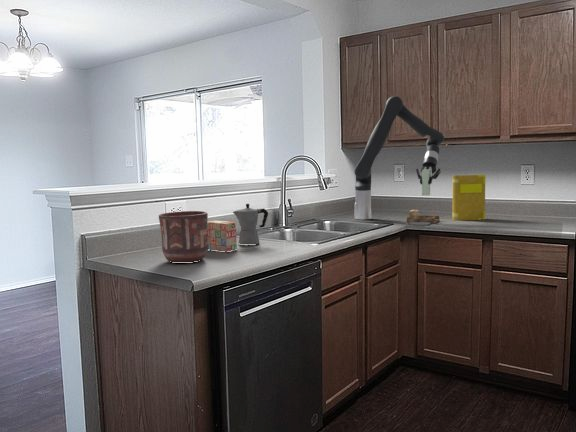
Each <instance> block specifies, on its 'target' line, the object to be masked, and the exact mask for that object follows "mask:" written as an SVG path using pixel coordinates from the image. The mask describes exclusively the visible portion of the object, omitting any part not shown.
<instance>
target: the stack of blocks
mask: <svg viewBox="0 0 576 432" xmlns="http://www.w3.org/2000/svg"><path fill="white" fill-rule="evenodd" d="M207 239H208V249H210V250H218V251H225V252H227V251H231V250H235V249H237V250H238V248H237V247H238V244H237V222H236V221H230V220H216V219H215V220H209V221H208V220H207Z"/></svg>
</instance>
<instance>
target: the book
mask: <svg viewBox="0 0 576 432" xmlns="http://www.w3.org/2000/svg"><path fill="white" fill-rule="evenodd" d="M486 176H487V175H486V174H462V175H461V174H459V175H457V174H455V175H452V212H451V213H452V214H451V215H452V217H451V219H452V221H482V220H481V219H485V220H486Z"/></svg>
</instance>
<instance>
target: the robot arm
mask: <svg viewBox="0 0 576 432" xmlns="http://www.w3.org/2000/svg"><path fill="white" fill-rule="evenodd" d="M396 117H399V118H400V119H401V120H402V121H404V122H405V123H406V124H407V125H408V126H409V127H410V128H411V129H413V131H415V132H416V133H417V135H419V136H420V137H426V136H429V137H428V138H427V140H426V142H425V145H426V151H425V154H424V157H423V161H422V164H421V165H422V167H421V168H416V169H415V170H416V175H417V179H418V180H419V184H420V185H421V186H422V174H420V173H422V170H424V169H430V177H429V181H428V184H429V185H430V186H431V184H433V183H432V182H433V180H436V179H437V178H439V175H440V174H441V173H442V171H441V168H437V166H438V162H439V154H440V145H441V144H442V143H443V142H444V141H445V136H443V135H444V134H443V133H442V132H441V131H440V132H439V130H437V129H435V128H433V127H431V126H429V125H428V124H427V123H426V122H425V121H424V120H422V119H421V118H420V117H418V116H417V115H416V114H414V113H413V112H411V111H410V110H409V109H408V108H407V107H406V106H405V104H404V103H403V100H402V98H401V97H400V96H397V95H392V96H390V97H389V98H388V99H387V100H386V102H385V108H384V110H383V112H382V115H381V117H380V119H379V120H378V122H377V123H376V125H375V126H374V128H373V130H372V133H371V134H370V136H369V138H368V141H367V144H366V146H365V148H364V151H363V154H362V156H361V158H360V160H359V161H358V162H357V164H356V166H355V167H354V172H353V173H354V175H355V185H354V190H355V193H354V194H355V197H354V198H355V202H354V203H353V207H354V209H353V211H354V212H353V213H354V214H353V215H354V220H371V219H372V167H373V164H374V161H375V159H376V158H377V156H378V155H379V153H380V152H381V150H382V149H383V147H384V145H385V144H386V141H387V140H388V137H389V135H390V133H391V132H390V131H391V129H392V127H393V124H394V121H395V120H396Z"/></svg>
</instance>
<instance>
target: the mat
mask: <svg viewBox="0 0 576 432" xmlns="http://www.w3.org/2000/svg"><path fill="white" fill-rule="evenodd" d="M431 224H432V223H427V222H412V223H408V225H409V226H429V225H431Z"/></svg>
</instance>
